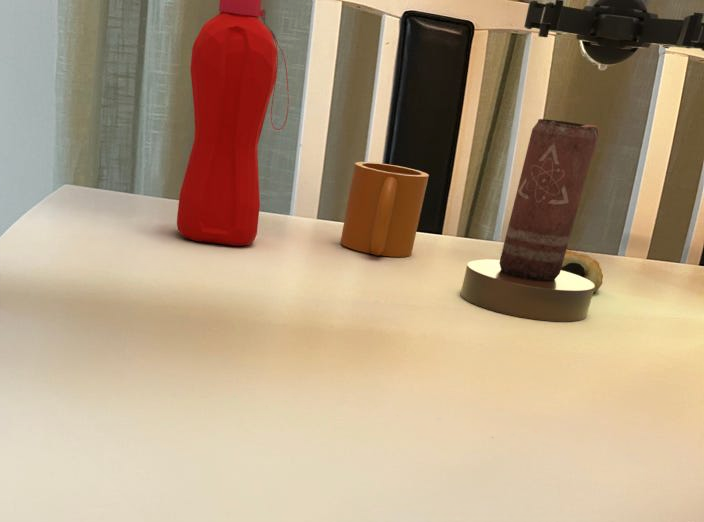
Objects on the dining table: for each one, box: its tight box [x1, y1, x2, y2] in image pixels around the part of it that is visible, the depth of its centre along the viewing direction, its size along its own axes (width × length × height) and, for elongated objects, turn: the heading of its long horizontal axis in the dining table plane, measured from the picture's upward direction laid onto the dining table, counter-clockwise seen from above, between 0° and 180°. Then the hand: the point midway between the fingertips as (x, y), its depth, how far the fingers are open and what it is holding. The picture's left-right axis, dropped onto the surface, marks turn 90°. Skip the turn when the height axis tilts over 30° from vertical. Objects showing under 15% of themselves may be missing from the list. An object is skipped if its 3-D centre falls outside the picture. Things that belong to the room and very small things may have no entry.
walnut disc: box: [460, 259, 595, 323], centre depth 104 cm, size 13×13×3 cm
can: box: [499, 118, 600, 281], centre depth 99 cm, size 6×6×14 cm
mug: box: [340, 161, 430, 258], centre depth 118 cm, size 9×12×9 cm
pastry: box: [561, 250, 604, 292], centre depth 115 cm, size 9×7×4 cm
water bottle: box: [176, 0, 290, 247], centre depth 110 cm, size 9×11×25 cm
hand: (622, 22), depth 105 cm, fingers open, 13 cm apart
